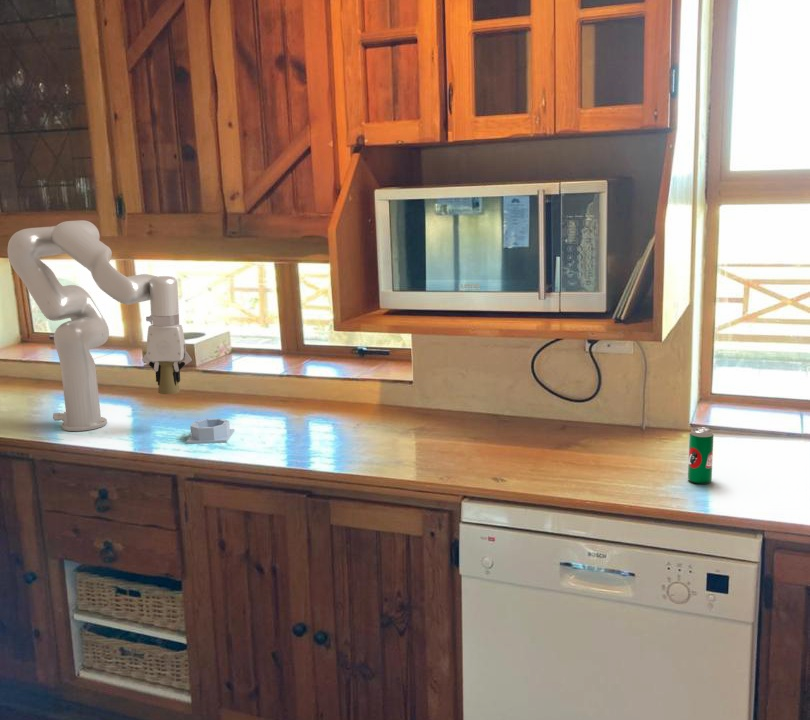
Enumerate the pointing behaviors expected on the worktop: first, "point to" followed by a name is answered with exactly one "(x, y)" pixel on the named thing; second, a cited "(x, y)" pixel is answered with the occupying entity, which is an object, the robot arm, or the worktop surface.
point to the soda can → (700, 455)
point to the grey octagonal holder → (210, 431)
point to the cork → (167, 379)
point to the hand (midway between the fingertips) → (168, 383)
